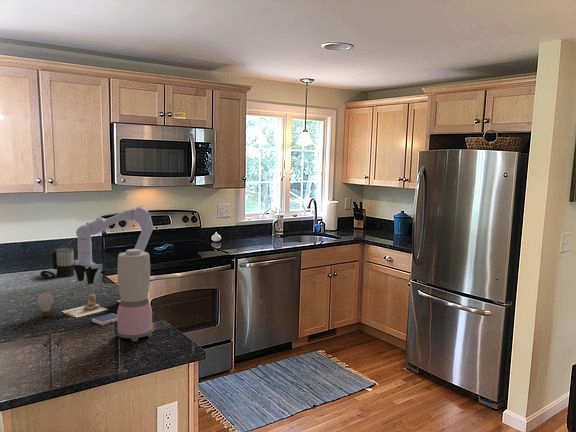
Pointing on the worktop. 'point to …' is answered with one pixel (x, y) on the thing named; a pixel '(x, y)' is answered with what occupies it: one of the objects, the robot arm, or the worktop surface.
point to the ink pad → (105, 319)
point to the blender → (134, 295)
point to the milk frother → (61, 263)
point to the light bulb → (45, 303)
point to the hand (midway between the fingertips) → (85, 282)
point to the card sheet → (82, 311)
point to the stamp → (91, 303)
